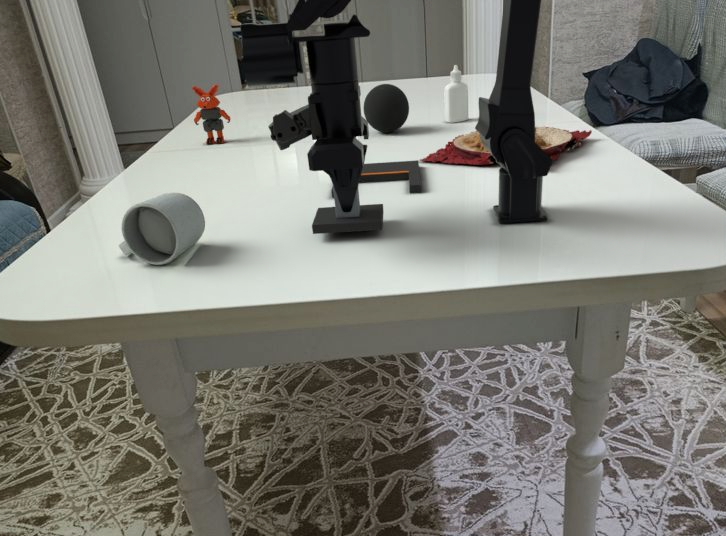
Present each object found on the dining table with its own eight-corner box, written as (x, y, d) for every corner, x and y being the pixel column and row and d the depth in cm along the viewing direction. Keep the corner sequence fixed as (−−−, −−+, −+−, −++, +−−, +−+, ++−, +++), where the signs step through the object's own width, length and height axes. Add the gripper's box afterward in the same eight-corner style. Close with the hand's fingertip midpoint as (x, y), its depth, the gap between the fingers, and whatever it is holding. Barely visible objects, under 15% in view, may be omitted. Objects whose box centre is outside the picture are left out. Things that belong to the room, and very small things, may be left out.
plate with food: (592, 141, 123) (593, 122, 122) (543, 170, 104) (544, 148, 103) (480, 136, 135) (480, 119, 133) (419, 161, 116) (418, 141, 115)
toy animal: (194, 147, 141) (182, 89, 135) (200, 142, 145) (188, 85, 140) (230, 144, 141) (219, 86, 135) (235, 139, 145) (224, 83, 140)
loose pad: (382, 229, 82) (379, 189, 79) (312, 234, 82) (307, 194, 79) (383, 212, 88) (380, 174, 86) (319, 216, 88) (314, 178, 86)
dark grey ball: (406, 136, 137) (404, 86, 132) (361, 137, 139) (357, 88, 134) (413, 126, 145) (410, 79, 140) (370, 128, 147) (366, 81, 142)
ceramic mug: (214, 242, 85) (201, 184, 81) (185, 265, 78) (168, 204, 74) (143, 242, 87) (127, 186, 83) (108, 265, 80) (89, 205, 76)
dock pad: (421, 192, 99) (420, 184, 99) (332, 197, 100) (331, 189, 99) (418, 167, 113) (418, 159, 112) (340, 172, 114) (339, 164, 113)
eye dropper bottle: (443, 120, 150) (442, 64, 144) (467, 118, 150) (467, 63, 144) (445, 123, 147) (444, 67, 141) (470, 121, 147) (469, 65, 141)
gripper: (280, 76, 85) (297, 191, 92) (252, 97, 69) (275, 235, 76) (363, 70, 84) (373, 187, 92) (355, 90, 68) (368, 230, 76)
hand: (348, 207), depth 84 cm, fingers closed on loose pad, 3 cm apart
